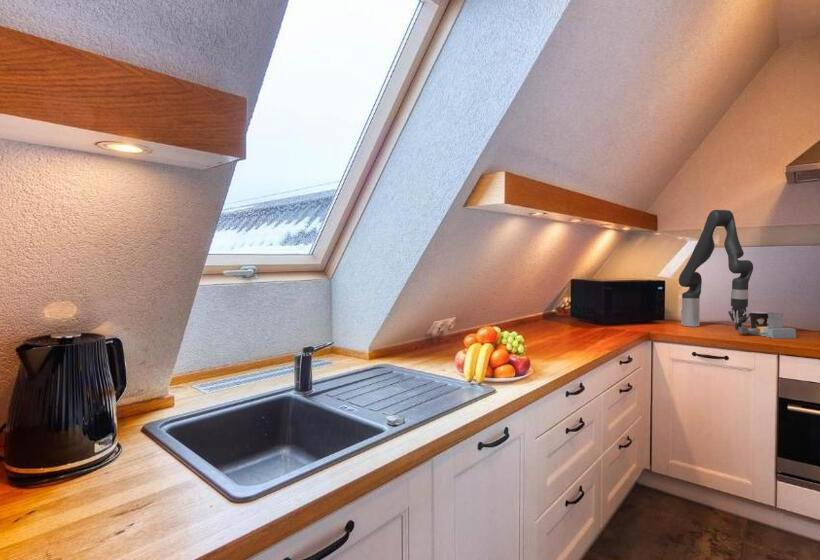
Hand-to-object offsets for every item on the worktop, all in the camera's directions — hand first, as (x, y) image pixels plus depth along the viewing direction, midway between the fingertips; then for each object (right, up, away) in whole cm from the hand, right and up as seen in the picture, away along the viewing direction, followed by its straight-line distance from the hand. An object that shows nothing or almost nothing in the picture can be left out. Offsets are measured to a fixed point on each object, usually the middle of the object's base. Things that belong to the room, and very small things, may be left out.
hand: (738, 329), depth 244 cm
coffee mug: (+25, -2, +16) cm, 30 cm away
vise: (+15, -3, -2) cm, 15 cm away
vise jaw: (+10, -1, -3) cm, 10 cm away
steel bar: (+15, -1, -7) cm, 16 cm away
